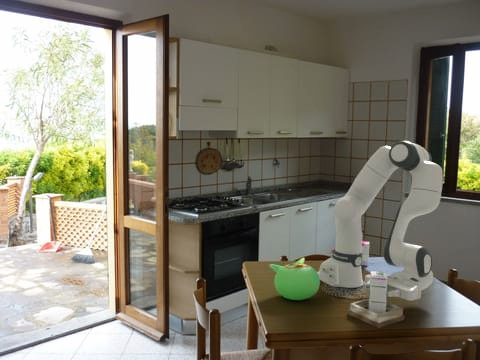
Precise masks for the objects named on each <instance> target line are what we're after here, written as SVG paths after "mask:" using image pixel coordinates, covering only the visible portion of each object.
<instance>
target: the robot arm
mask: <svg viewBox="0 0 480 360" xmlns="http://www.w3.org/2000/svg"><path fill="white" fill-rule="evenodd" d="M432 161H433V160H432V155H431V153H430V152H429V150H428V149H426V148H425V147H422V146H421V145H419V144H417V143H413V142H411V141H409V140H400V141H397V142H395V143H393V144H392V145H391V146H388V145H383V146H380V147H379V148H378V149H377V150H376V151H375V152H374V153H373V154H372V155H371V156H370V158H369V159H368V160H367V162H366V163H365V164H364V166H363V167H362V169H361V170H360V171H359V172H358V174H357V176H355V178H354V181H353V182H352V184H351V186H350V188H349V189H348V191H347V192H346V193H345V195H344V196H342V197H340V198H339V199H338V200H337V201H336V202H335V205H334V207H333V213H334V221H335V222H334V223H335V232H336V233H335V234H336V235H335V248H334V249H332V250H330V254H332V256H331V257H330V258H327V259H326V260H325V261H323V262H321V264H320V266H319V269H318V271H316V272H317V273H318V275H319V279H320V282H321V281H322V282H323V283H325V284H328V286H331V287H336V288H337V287H338V288H339V287H340V288H346V289H347V288H348V289H349V288H350V289H353V288H360V287H362V286H364V288H365V289H368V290H369V287H370V274H365V275H364V281H363V273H362V266H361V262H362V252H361V250H362V241H363V231H362V229H363V228H362V216H363V215H364V214H365V213H366V211H367V210H368V208H369V207H370V206H371V204H372V203H373V201H374V200H375V198H376V196H377V195H378V194H379V192H380V191H381V189H382V188H383V187H384V186H385V184H386V182H388V181H389V179H390V177H391V176H392V174H393V173H394V172H395V171H396V170H398V169H401V170H403V171H405V172H409V173H410V175H411V186H410V190H409V193H408V196H407V198H406V199H405V200H404V201H403V202H402V203H401V204H400V206H399V207H398V209H397V212H396V215H395V218H394V221H393V224H392V227H391V230H390V233H389V235H388V238H387V241H386V242H385V244H384V246H383V250H382V257H383V259H384V261H385V262H386V263H387V264H388V266H393V267H399V268H403V270H400V271H396V272H395V271H394V272H392V273H391V274H390V275H389V276H387V292H386V296H387V298H388V297H389V298H391V297H393V298H395V297H396V298H399V299H401V300H402V299H403V300H405V301H408V302H409V301H410V302H411V301H415V300H420V299H421V296H422V291H423V290H425V289H427V288H428V287H430V286H431V284H432V283H433V281H434V273H433V271H432V267H433V258H432V255H431V252H430V251H429V249H428V248H427V247H425V246H422V245H417V244H412V243H407V242H404V238H405V235H406V232H407V229H408V227H409V224H410V221H412V220H413V219H414V218H417V217H420V216H423V215H427V214H429V213H430V214H431V213H432V212H433V211H435V210H436V209H437V208H438V206H439V205H440V202H441V198H442V190H443V181H444V180H443V179H444V178H443V176H444V175H443V168H442V167H441V166H440V165H439V164H437V163H435V162H432Z"/></svg>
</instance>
